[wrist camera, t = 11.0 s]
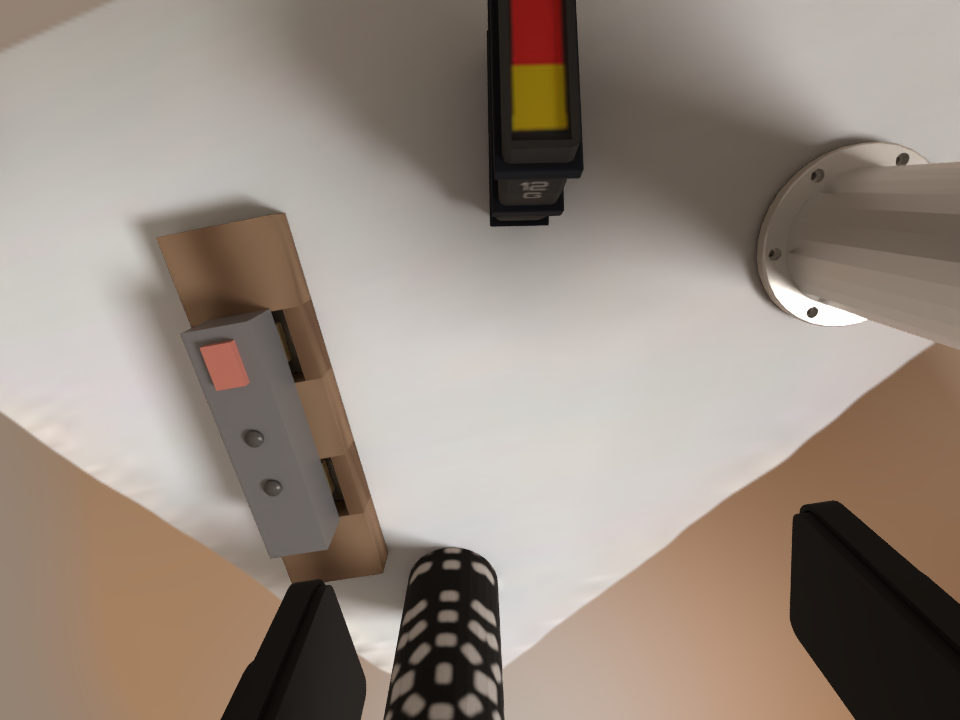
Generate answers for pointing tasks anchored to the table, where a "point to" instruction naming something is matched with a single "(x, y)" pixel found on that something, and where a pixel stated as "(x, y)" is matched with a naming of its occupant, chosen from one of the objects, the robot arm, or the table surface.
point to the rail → (282, 286)
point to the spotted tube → (448, 642)
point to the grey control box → (265, 429)
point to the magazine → (532, 109)
